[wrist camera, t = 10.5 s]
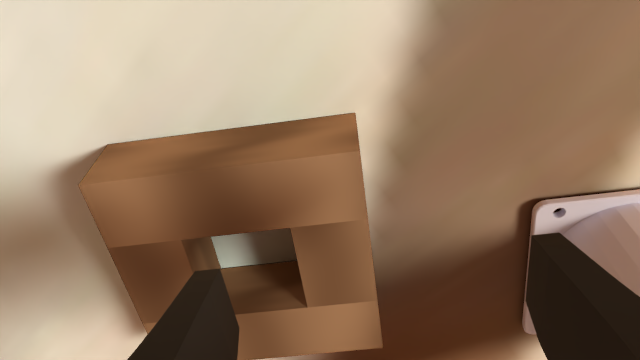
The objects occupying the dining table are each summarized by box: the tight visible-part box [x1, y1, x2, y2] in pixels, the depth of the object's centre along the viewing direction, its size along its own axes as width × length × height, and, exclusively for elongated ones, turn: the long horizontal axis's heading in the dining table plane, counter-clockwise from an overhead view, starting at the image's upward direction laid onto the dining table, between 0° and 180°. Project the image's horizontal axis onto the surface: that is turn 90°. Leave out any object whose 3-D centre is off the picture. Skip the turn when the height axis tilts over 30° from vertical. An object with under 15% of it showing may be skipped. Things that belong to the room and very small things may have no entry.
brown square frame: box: [78, 113, 383, 360], centre depth 22 cm, size 10×10×3 cm
